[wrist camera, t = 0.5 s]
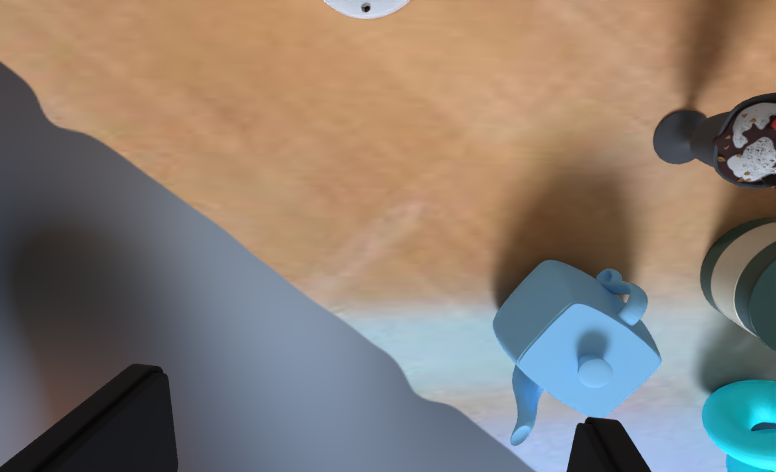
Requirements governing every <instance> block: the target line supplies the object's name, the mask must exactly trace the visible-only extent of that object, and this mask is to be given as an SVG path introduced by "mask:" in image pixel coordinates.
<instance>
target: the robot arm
mask: <svg viewBox="0 0 776 472" xmlns="http://www.w3.org/2000/svg"><path fill="white" fill-rule="evenodd" d="M323 1H324V2H325V3H326V4H328V5H329V6H330V7H332V8H333V9H334V10H336V11H338V12H340V13H342V14H344V15H346V16H350V17H354V18H358V19H373V18H379V17H384V16H386V15H388V14H391V13H393V12H395V11H397V10H398V9H400V8H401V7H403V6H404V5H406V4H407V3H408V2H409V1H410V0H323ZM366 7H369V8H370V10H369V11H368V12H365V8H366ZM177 469H178V458H177V449H176V441H175V432H174V425H173V415H172V406H171V398H170V389H169V381H168V376H167V375H166V374H164V373H163V370H162V369H161V367H158V366H153V365H144V364H132V365H130V366H129V367H127V368H126V369H125V370H123V372H121V373H120V374H118V375H117V376H116V377H115V378H113V379H112V380H111V381H110V382H108V383H107V384H106V385H104V386H103V387H102V388H100V389H99V390H98V391H97V392H95V393H94V394H93V395H92V396H90V397H89V398H88V399H87V400H85V401H84V402H83V403H81V404H80V405H79V406H78V407H76V408H75V409H74V410H72V411H71V412H70V413H69V414H67V415H66V416H65V417H63V418H62V419H61V420H60V421H58V422H57V423H56V424H55V425H53V426H52V427H51V428H50V429H48V430H47V431H46V432H45V433H43V434H42V435H41V436H39V437H38V438H37V439H35V440H34V441H33V442H32V443H30V444H29V445H28V446H27V447H25V448H24V449H23V450H21V451H20V452H19V453H18V454H16V455H15V456H14V457H12V458H11V459H10V460H9V461H7V462H6V463H5V464H4V465H2V466H1V467H0V472H177ZM567 472H651V470H650V469H649V467H648V465H647V464H646V462H645V461H644V459H643V458H642V456H641V454H640V453H639V451H638V450H637V448H636V446H635V445H634V443H633V442H632V440H631V438H630V437H629V435H628V434H627V432H626V430H625V429H624V427H623V426H622V424H621V423H620V422H619V421H617V420H613V419H604V418H596V417H588V418H587V419H586V420H585V423H578V425H577V427H576V431H575V435H574V440H573V445H572V449H571V454H570V458H569V463H568V468H567Z"/></svg>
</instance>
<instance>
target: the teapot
mask: <svg viewBox="0 0 776 472" xmlns="http://www.w3.org/2000/svg"><path fill="white" fill-rule="evenodd" d="M617 294H630V296H629V299H628V301H627V303H625V302H624V301H623V300H622V299H621V298H620V297H619V296H618V295H617ZM647 303H648V299H647V295H646V293H645V292H644V291H643V290H642V289H641V288H640V287H638V286H637V285H635V284H632V283H629V282H622V276H621V274H620V273H619V272H618V271H616V270H614V269H606V270H604V271H602V272H601V273H599V274H598V276H597V277H596V279H595V278H594V277H592V276H590V275H588V274H586V273H584V272H583V271H581V270H579V269H577V268H575V267H572V266H570V265H568V264H565V263H563V262H560V261H556V260H546V261H543V262H542V263H540V264H539V265H538V266H537V267H536V268H535V269H534V270H533V271H532V272H531V273H530V274H529V275H528V276H527V277H526V278H525V279H524V280H523V281H522V282H521V283H520V285H519V286H518V287H517V288H516V289H515V290H514V291H513V293H512V294H511V295H510V296H509V298H508V299H507V300H506V301H505V303H504V304H503V305H502V306H501V308H500V309H499V311H498V312H497V314H496V316H495V318H494V320H493V329H494V333H495V335H496V337H497V339H498V341H499V343H500V345H501V346H502V348H503V349H504V351H505V352H506V353H507V355H508V356H509V357H510V358H511V360H512V361H513V362H514V363H515V364H516V365H515V368H514V372H513V378H512V383H513V390H514V394H515V398H516V403H517V409H518V418H517V423H516V426H515V428H514V431H513V433H512V436H511V440H510V442H511V444H512V445H514V446H516V445H519V444H521V443H522V442H523V441H524V440H525V439H526V438H527V437H528V436H529V434H530V433H531V431H532V428H533V426H534V423H535V419H536V413H537V405H538V401H539V398H540V396H541V394H542V392H543V390H545V391H546V392H548V393H549V394H550V395H552V396H553V397H555V398H556V399H558V400H560V401H561V402H563V403H564V404H566V405H568V406H570V407H571V408H573V409H575V410H577V411H579V412H581V413H583V414H585V415H587V416H589V417H596V418H603V417H605V416H606V415H607V414H609V413H610V412H611V411H613V410H614V409H615V408H616V407H617V406H619V405H620V404H621V403H622V402H623V401H624V400H625V399H626V398H628V397H629V396H630V395H631V394H632V393H633V392H634V391H635V390H637V389H638V388H639V387H640V386H641V385H642V384H643V383H644V382H645V381H646V380H647V379H648V378H649V377H650V376H651V375H652V374H653V373H654V372H655V371H656V370H657V369H658V367H659V366H660V365H661V363H662V359H661V356H660V354H659V351H658V349H657V346H656V344H655V342H654V340H653V338H652V336H651V334H650V333H649V331H648V330H647V328H646V326H645V325H644V324H643V322H642V321H641V320H640V319H641V317H642V316H643V314H644V312H645V310H646V308H647Z"/></svg>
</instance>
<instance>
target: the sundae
mask: <svg viewBox="0 0 776 472" xmlns="http://www.w3.org/2000/svg"><path fill="white" fill-rule="evenodd" d="M654 149H655V151H656V153H657V155H658V156H659V157H660V158H661V159H662V160H664V161H666V162H667V163H672V164H682V163H686V162H690V161H691V160H693V159H695V158H696V159H698V160H700V161H702V162H703V163H705V164H707V165H709V166H712V167H714V168H715V170H716V172H717V173H718V174H719V175H720V176H721V177H722V178H723V179H725V180H727V181H729V182H730V183H733V184H735V185H737V186H739V187H744V188H751V189H761V188H767V187H769V188H776V93H770V94H763V95H759V96H755V97H752V98H750V99H748V100H745V101H743V102H741V103H740V104H738V105H737V106H736V107H735V108H734V109H733V110H732V111H730V112H725V113H721V114H718V115H715V116H712V117H709V118H707V119H705V117H704V116H702V115H701V114H699V113H697V112H694V111H686V110H685V111H680V112H676V113H673V114H672V115H670V116H668V117H667V118H666V119H664V120H663V121H662V123H661V124H660V125H659V127H658V128H657V130H656V132H655V136H654Z"/></svg>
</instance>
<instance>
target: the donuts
mask: <svg viewBox="0 0 776 472" xmlns="http://www.w3.org/2000/svg"><path fill="white" fill-rule="evenodd" d="M702 420H703V425H704V428H705V430H706V432H707V434H708V435H709V437H710V438H711V439H712V441H713V442H714V443H715V444H716V445H717V446H718V447H719V448H720V449H722V450H723V451H724V452H726V453H727V458H726V466H727V472H774V471H776V429H762V430H757V431H751V428H752V427H753V426H755V425H756V424H759V423H764V422H770V423H776V381H769V380H745V381H738V382H734V383H731V384H728V385H725V386H723V387H721V388H719V389H718V390H716V391H715V392H713V393H712V394H711V395H710V396H709V397H708V399H707V400H706V402H705V404H704V407H703V410H702ZM772 470H773V471H772Z"/></svg>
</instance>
